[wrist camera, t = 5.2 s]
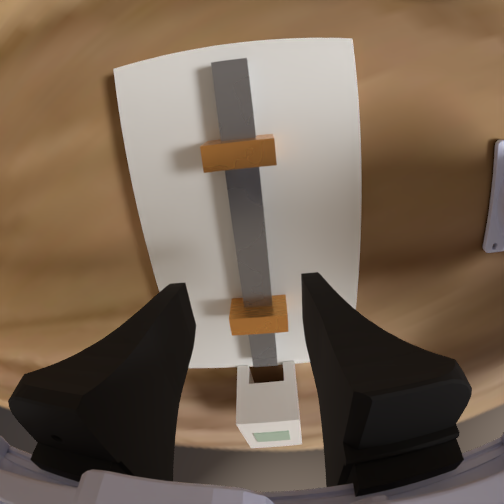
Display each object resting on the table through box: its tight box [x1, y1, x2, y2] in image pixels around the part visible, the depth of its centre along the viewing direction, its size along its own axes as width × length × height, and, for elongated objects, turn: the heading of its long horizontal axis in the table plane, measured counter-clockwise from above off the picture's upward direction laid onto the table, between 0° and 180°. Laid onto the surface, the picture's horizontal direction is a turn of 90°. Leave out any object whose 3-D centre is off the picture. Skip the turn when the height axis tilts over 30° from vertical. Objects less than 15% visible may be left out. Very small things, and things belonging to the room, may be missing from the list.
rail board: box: [114, 38, 362, 368], centre depth 18 cm, size 12×20×1 cm, turn 6°
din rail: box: [200, 58, 289, 367], centre depth 16 cm, size 3×18×2 cm, turn 6°
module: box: [236, 361, 302, 448], centre depth 21 cm, size 4×6×5 cm, turn 9°
